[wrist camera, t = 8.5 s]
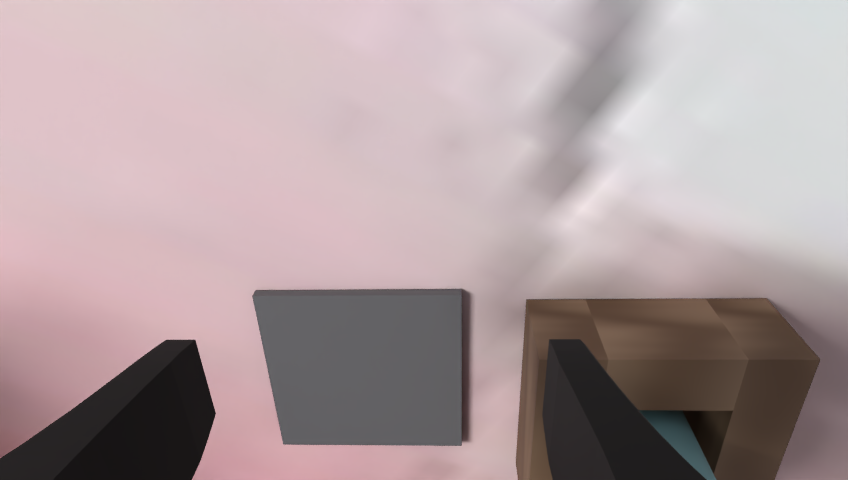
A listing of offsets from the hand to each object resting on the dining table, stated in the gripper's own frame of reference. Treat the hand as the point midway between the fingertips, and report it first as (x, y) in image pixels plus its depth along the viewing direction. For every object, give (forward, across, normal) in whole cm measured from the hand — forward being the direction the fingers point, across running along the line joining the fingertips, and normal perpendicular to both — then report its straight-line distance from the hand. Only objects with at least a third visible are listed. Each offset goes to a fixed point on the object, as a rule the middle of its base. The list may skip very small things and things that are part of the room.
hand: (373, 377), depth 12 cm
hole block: (+9, -9, +9) cm, 16 cm away
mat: (+9, +2, +8) cm, 13 cm away
